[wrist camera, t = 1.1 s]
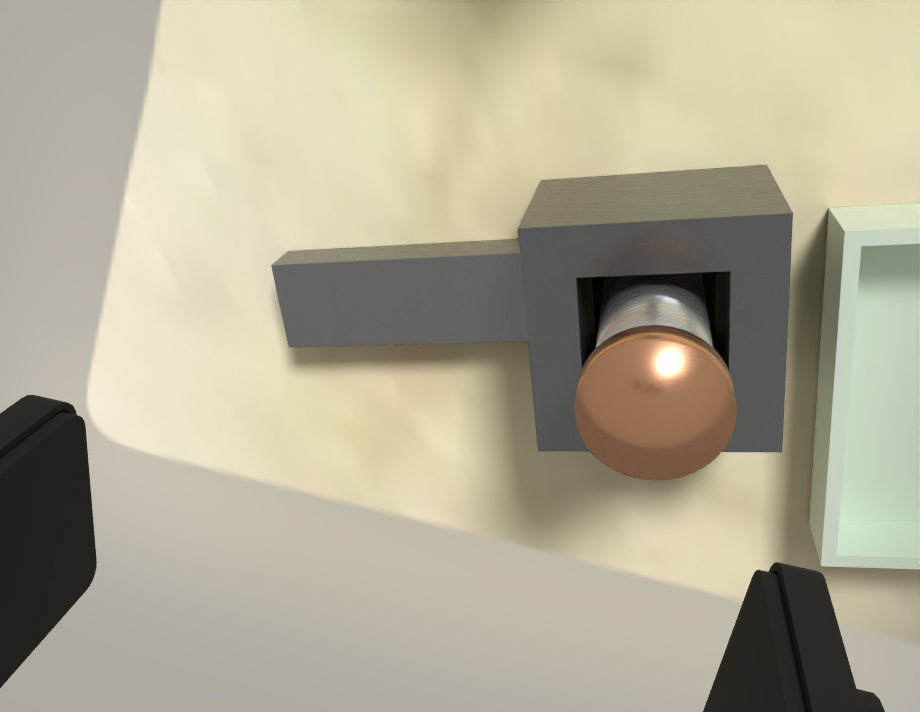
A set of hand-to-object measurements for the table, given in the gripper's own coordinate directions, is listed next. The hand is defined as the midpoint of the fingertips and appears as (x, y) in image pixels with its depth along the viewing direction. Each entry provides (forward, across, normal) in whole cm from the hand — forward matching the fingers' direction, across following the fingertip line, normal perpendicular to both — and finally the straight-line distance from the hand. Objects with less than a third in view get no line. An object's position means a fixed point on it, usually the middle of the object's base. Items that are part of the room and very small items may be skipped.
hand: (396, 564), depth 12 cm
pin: (+27, -5, +4) cm, 27 cm away
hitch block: (+27, +1, +6) cm, 27 cm away
